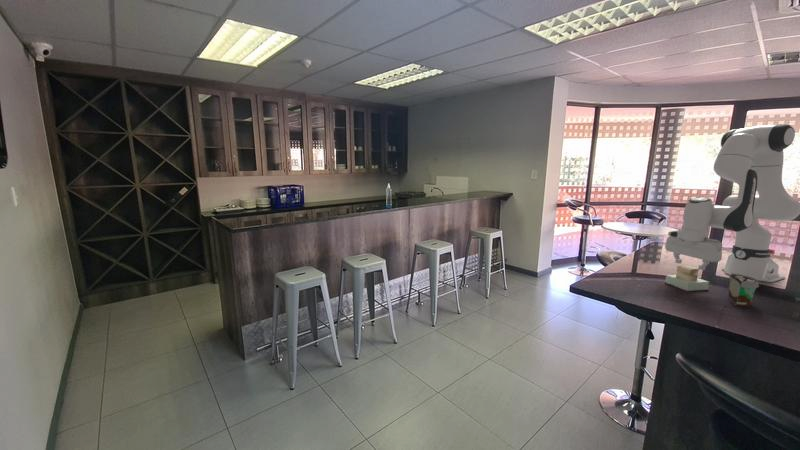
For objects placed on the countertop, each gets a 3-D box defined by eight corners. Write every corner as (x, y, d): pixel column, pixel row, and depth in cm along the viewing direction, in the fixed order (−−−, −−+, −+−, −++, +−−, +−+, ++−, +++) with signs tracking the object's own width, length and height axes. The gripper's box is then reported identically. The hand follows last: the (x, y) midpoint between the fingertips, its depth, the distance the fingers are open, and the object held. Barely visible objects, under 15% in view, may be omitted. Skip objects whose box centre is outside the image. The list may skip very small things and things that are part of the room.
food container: (760, 310, 116) (766, 285, 114) (737, 307, 119) (742, 281, 117) (747, 299, 126) (752, 275, 124) (726, 296, 129) (730, 272, 127)
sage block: (684, 282, 146) (685, 274, 145) (707, 290, 136) (709, 281, 135) (665, 283, 145) (666, 275, 144) (687, 291, 135) (688, 282, 134)
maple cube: (684, 276, 143) (686, 265, 142) (697, 279, 138) (698, 268, 137) (675, 276, 142) (677, 266, 141) (687, 280, 137) (689, 269, 136)
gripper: (728, 240, 127) (723, 273, 129) (675, 230, 147) (671, 259, 149) (716, 241, 126) (711, 274, 128) (664, 231, 145) (660, 260, 148)
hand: (689, 266), depth 139 cm, fingers open, 8 cm apart
